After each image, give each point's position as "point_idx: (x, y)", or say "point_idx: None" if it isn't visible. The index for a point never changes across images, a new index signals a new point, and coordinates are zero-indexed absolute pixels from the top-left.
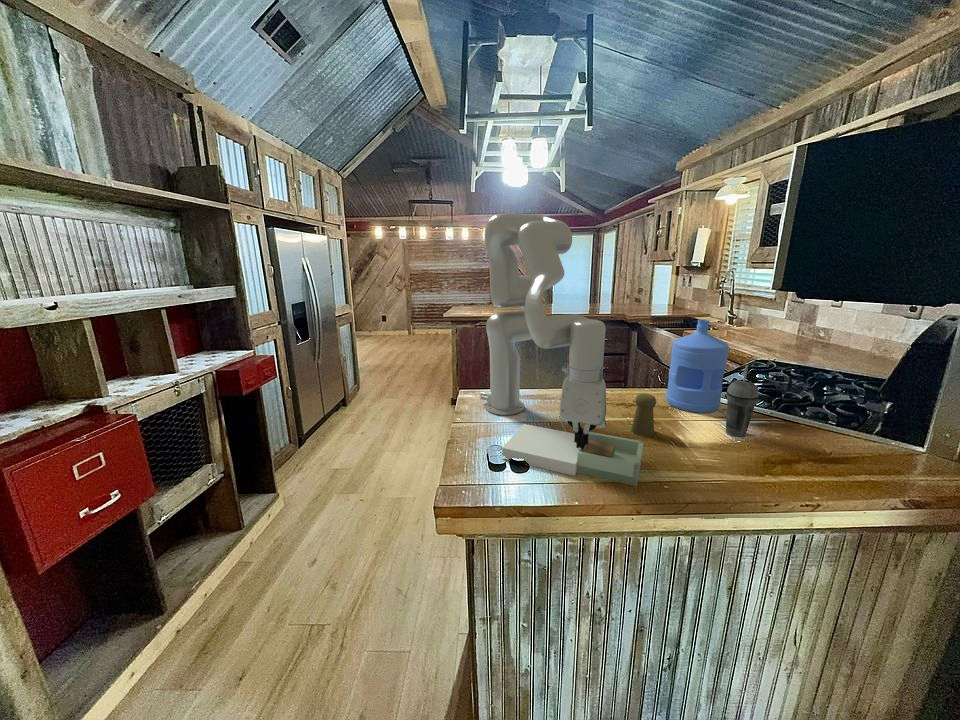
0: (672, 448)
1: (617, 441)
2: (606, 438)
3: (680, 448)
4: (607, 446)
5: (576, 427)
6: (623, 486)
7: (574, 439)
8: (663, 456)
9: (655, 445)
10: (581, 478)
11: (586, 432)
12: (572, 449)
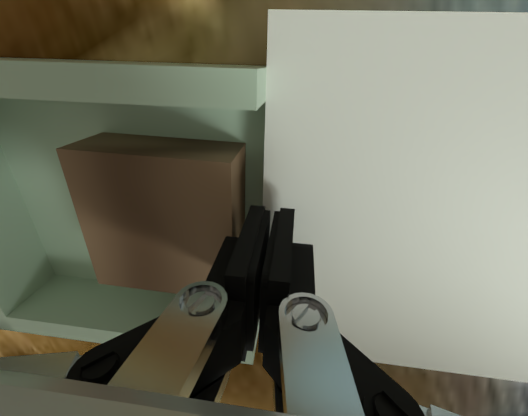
0: (31, 344)
1: (108, 316)
2: None
3: (16, 348)
4: (121, 256)
5: (298, 340)
6: (36, 29)
7: (313, 254)
8: None
9: (75, 350)
10: (238, 10)
11: (196, 296)
12: (319, 209)
